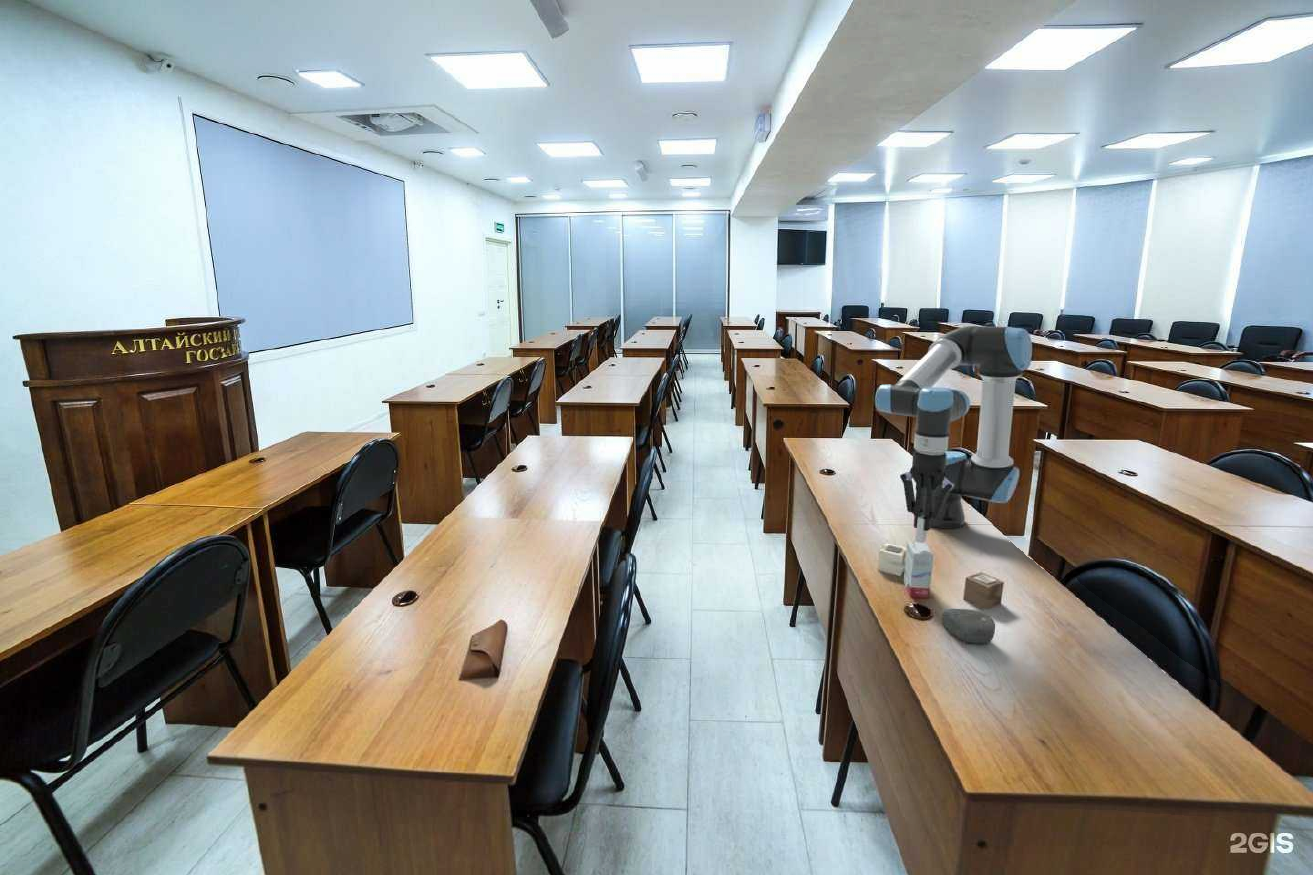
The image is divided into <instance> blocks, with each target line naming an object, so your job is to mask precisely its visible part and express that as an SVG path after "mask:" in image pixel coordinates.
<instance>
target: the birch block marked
mask: <svg viewBox="0 0 1313 875" xmlns="http://www.w3.org/2000/svg"><path fill="white" fill-rule="evenodd" d="M906 550H907V547H904V546H900V545H895V544H891V543H887V542H886V543H885V544H884V545H883V546H882V547H881V548H879V551H878V559H877V560H878V562H877V563H878V564H877V571H879V572H882V573H883V572H884V573H887V574H891V575H896V576H899V577H901V575H902V574H903V573H904V572H905V561H906Z"/></svg>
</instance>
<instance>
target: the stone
mask: <svg viewBox="0 0 1313 875" xmlns="http://www.w3.org/2000/svg"><path fill="white" fill-rule="evenodd" d="M941 622H942V626H943V627H944V628H945V629H946V630H947V631H949V632H950V633H951V634H952V635H953V636H955V637H956V638H957V639H958V640H960V641H962V642H964V643H966V644H971V645H986V644H989V643H990V642H991V641H993V639H994V636H995V632H996V623H995V620H994V619H993V617H992V616H990V615H989V614H988V613H986V612H984V611H983V610H976V609H969V608H968V609H967V608H946V609H944V610H943V611H942V612H941Z"/></svg>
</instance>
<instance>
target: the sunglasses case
mask: <svg viewBox="0 0 1313 875" xmlns="http://www.w3.org/2000/svg"><path fill="white" fill-rule="evenodd" d="M508 631H509V630H508V623H507V622H506V621H505V620H504V619H499V620H497V621H496V622H495V623H493V624H492V625H491V626H489V627H486V628H484V629H481V630H480V631H478V632H476V633H474V635H473V634H472V635H471V637H472V638H471V640H470V643H469V647H468V651H467V654H466V657H465V659H464V664H463V666H462V669H461V671H460V675H459V679H458V680H460V681H462V682H463V681H467V680H469V681H470V680H480V679H481V680H482V679H493V678H494V679H495V678H496V679H498V678H499V677H500V675H501V670H502V665H503V657H504V653H505V645H506V641H507V636H508Z"/></svg>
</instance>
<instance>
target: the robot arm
mask: <svg viewBox="0 0 1313 875" xmlns="http://www.w3.org/2000/svg"><path fill="white" fill-rule="evenodd" d="M1032 357H1033V342H1032V338H1031V334H1030V333H1029V332H1028V330H1026V329H1024V328H1020V327H1019V328H1018V327H1012V326H981V325H980V326H979V325H978V326H977V325H968V326H962V327H959V328H956V329H953V330H951V331H949V332H946V333H944V334H943V335H941V336H940V337H938V338H937V339H935V341H933V342H932V343H931V345H930V346H929V347H928V350H927V353H926V354H925V355H924V356H923V357H922V358H921V359H920V360H919V361H917V363H915V365H914V366H912V367H911V369H909V371H908V372H906V373H905V374H904V375H903V376H902V377H901V378H900V379H899V380H898V382H896V383H895V384H892V383H891V384H881V385H880V386H879V387H878V388H877V390H876V392H875V396H874V397H875V398H874V405H875V407H876V409H877V411H879V412H882V413H887V414H890V415H901V416H906V417H916V421H915V422H916V423H915V430H914V431H915V433H914V441H913V449H914V450H913V453H912V460H911V461H912V463H911V464H912V465H911V466H912V467H910V470H909V471H907V472H904V473H902V474H900V476H899V477H900V480H901V482H902V483H903V490H904V491H903V492H904V496H905V503H906V511H907V512H908V513H911V514H913V517H914V519H913V528H915V529H916V531H915V532H916V533H915V542H918V543H925V542H926V541H927V537H928V536H927V534H928V533H927V532H929V531H930V530H931V528H939V529H958V528H959V529H960V528H961V527H963V526H964V525H965V520H966V516H965V512H964V508H963V504H962V496H965V497H968V498H972V499H978V500H982V501H986V502H990V503H998V504H1005V503H1007V502H1009V500H1011V498H1012V496H1013V494H1014V491H1015V490H1016V487H1017V485H1018V480H1019V479H1020V478H1019V477H1020V469H1019V468H1018V467H1017V466H1014V459H1013V458H1012V457H1011V456H1010V455H1009V451H1010V443H1011V430H1012V421H1013V412H1014V401H1015V390H1016V382H1017V381H1016V380H1018V379H1019V378H1020V377H1021V376H1022V375H1023V371H1025V370H1026V371H1027V370H1028V369H1029V368H1030V366H1031V363H1032ZM957 366H970V367H971V366H973V367H975V366H976V367H977V375H978V376H979V377H981V379H982V383H981V393H980V394H981V395H980V408H979V419H978V420H979V421H978V435H977V447H976V452H975V453H974V454H973V455H971V457H970V459H968V458H967V457H968V456H967V454H966V453H964V452H961V451H952V450H950V451H949V450H948V449H949V447H948V445H949V438H950V437H949V436H950V430H951V429H950V428H951V423H953V422H954V421H957V420H960V419H961V418H962V417H964V416H965V415H966V414H967V413H968V412H969V410H970V407H971V402H970V397H969V396H968V394H966V393H965V392H964V391H962V390H960V389H951V388H947V387H939V386H934V385H936V384H937V383H938V381H940V379H941V378H942V377H943V376H944V375H945V374H946V373H947V372H948V371H949V370H952V369H955V368H957ZM913 481H914V483H915V490H914V483H913Z"/></svg>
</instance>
